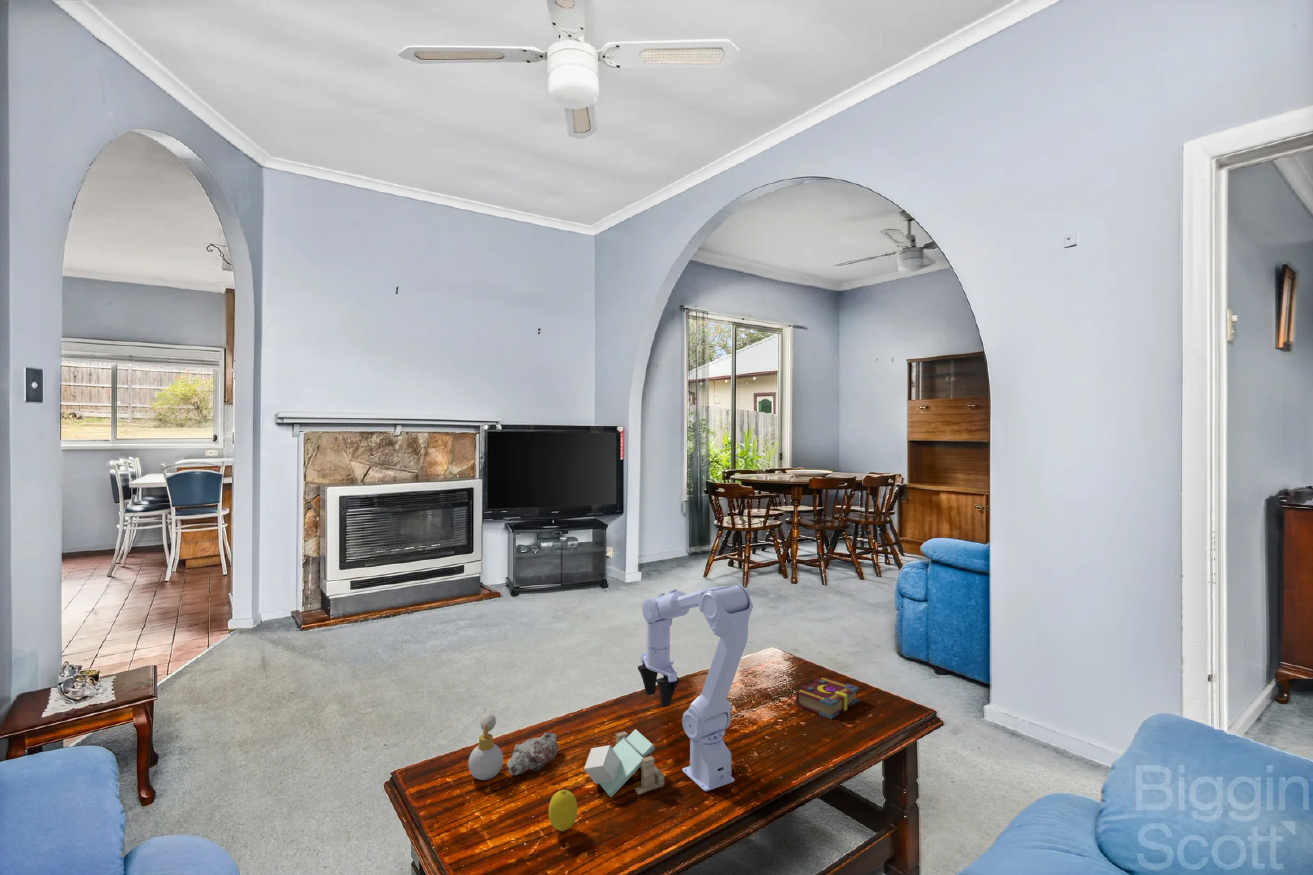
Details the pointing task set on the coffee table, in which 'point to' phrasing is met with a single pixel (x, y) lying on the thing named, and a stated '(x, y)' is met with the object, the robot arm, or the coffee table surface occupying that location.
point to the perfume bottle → (486, 752)
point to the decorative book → (827, 697)
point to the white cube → (602, 764)
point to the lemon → (563, 810)
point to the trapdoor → (628, 759)
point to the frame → (646, 771)
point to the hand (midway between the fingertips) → (658, 699)
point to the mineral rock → (533, 754)
